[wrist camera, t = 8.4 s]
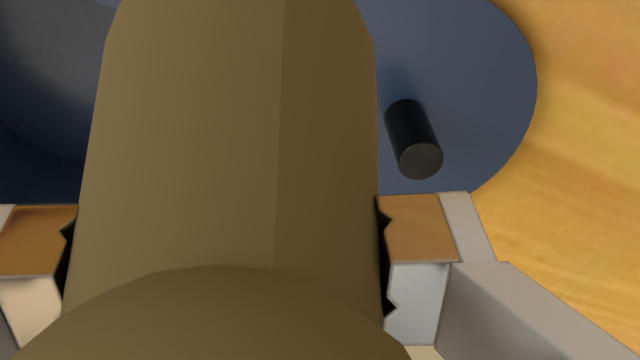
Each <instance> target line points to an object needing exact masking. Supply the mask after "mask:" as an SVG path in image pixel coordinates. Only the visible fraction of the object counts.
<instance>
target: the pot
mask: <svg viewBox="0 0 640 360" xmlns="http://www.w3.org/2000/svg"><path fill="white" fill-rule="evenodd" d="M121 1H122V0H0V204H20V203H79V198H80V191H81V185H82V179H83V173H84V167H85V161H86V155H87V149H88V143H89V137H90V131H91V124H92V118H93V112H94V106H95V100H96V94H97V88H98V82H99V76H100V70H101V64H102V57H103V51H104V45H105V40H106V37H107V35H108V32H109V30H110V27H111V24H112V22H113V19H114V17H115V14H116V11H117V9H118V6H119V4H120V2H121Z"/></svg>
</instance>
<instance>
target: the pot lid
mask: <svg viewBox="0 0 640 360" xmlns="http://www.w3.org/2000/svg"><path fill="white" fill-rule="evenodd" d="M352 1H353V2H354V4H355V5H356V6H357V7H358V9H359V11H360V13H361V16H362V18H363V20H364V23H365V25H366V27H367V30H368V32H369V34H370V36H371V39H372V41H373V43H374V53H375V69H376V91H377V133H378V176H379V195H386V194H415V193H435V192H445V191H464V190H465V191H467V192H468V193H469V194H470V193H471V192H473V191H474V190H476V189H477V188H479V187H480V186H482V185H483V184H484V183H485V182H487V181H488V180H489V179H490V178H492V177H493V176H494V175H495V174H496V173H497V172H498V171H499V170H500V169H501V168H502V167H503V166H504V165H505V163H506V162H507V161H508V160H509V159H510V157H511V156H512V155H513V154H514V152H515V151H516V149H517V148H518V146H519V145H520V143H521V141H522V139H523V137H524V135H525V133H526V131H527V129H528V127H529V124H530V122H531V119H532V116H533V113H534V108H535V103H536V97H537V75H536V67H535V63H534V59H533V55H532V52H531V50H530V48H529V45H528V43H527V41H526V39H525V37H524V36H523V34H522V33H521V31H520V30H519V28H518V27H517V25H516V24H515V23H514V22H513V21H512V20H511V19H510V17H509V16H508V15H507V14H506V13H505V12H504V11H503V10H502V9H500V8H499V7H498V6H497V5H495V4H494V3H493V2H491V1H490V0H352Z"/></svg>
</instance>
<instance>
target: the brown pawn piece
mask: <svg viewBox="0 0 640 360" xmlns="http://www.w3.org/2000/svg"><path fill="white" fill-rule="evenodd" d="M375 195H379V176H378V133H377V91H376V69H375V53H374V43H373V41H372V39H371V36H370V34H369V32H368V30H367V27H366V25H365V23H364V20H363V18H362V16H361V13H360V11H359V9H358V7H357V6H356V5H355V4H354V2H353V1H352V0H122V1H121V2H120V4H119V6H118V9H117V11H116V14H115V17H114V19H113V22H112V24H111V27H110V30H109V32H108V35H107V37H106V40H105V45H104V51H103V57H102V64H101V70H100V76H99V82H98V88H97V94H96V100H95V106H94V112H93V118H92V124H91V131H90V137H89V143H88V149H87V155H86V161H85V167H84V173H83V179H82V185H81V191H80V198H79V211H78V215H77V220H76V224H75V228H74V234H73V240H72V246H71V252H70V258H69V265H68V271H67V277H66V283H65V289H64V295H63V301H62V307H61V313H60V317H58V318H57V319H56V320H55V321H54V322H52V323H51V324H50V325H49V326H48V327H46V328H45V329H44V330H43V331H41V332H40V333H39V334H38V335H37V336H35V337H34V338H33V339H32V340H31V341H29V342H28V343H27V344H26V345H25V346H23V347H22V348H21V349H20V350H19V351H17V352H16V353H15V354H14V355H13V357H12V358H11V359H10V360H412V359H411V358H410V356H409V355H408V353H407V351H406V350H405V348H404V346H403V345H402V343H400V342H399V341H398V340H396V339H395V338H394V337H392V336H391V335H390V334H388V333H387V332H386V331H384V330H383V329H382V303H381V268H380V246H379V230H378V220H377V212H376V204H375Z"/></svg>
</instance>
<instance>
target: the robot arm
mask: <svg viewBox="0 0 640 360" xmlns="http://www.w3.org/2000/svg"><path fill="white" fill-rule="evenodd" d="M375 204H376V212H377V220H378V230H379V246H380V268H381V303H382V329H383V330H384V331H386V332H387V333H388V334H390V335H391V336H392V337H394V338H395V339H396V340H398V341H399V342H400V343H402V345H403V346H435V347H434V348H435V349H436V351H437V352H438V353H439V354H440V355H441V356H442V357H443V358H444V360H640V356H639V355H638V354H637V353H635V352H634V351H632V350H631V349H630V348H628V347H627V346H625V345H624V344H623V343H621V342H620V341H618V340H617V339H616V338H614V337H613V336H611V335H610V334H609V333H607V332H606V331H604V330H603V329H602V328H600V327H599V326H597V325H596V324H595V323H593V322H592V321H590V320H589V319H588V318H586V317H585V316H583V315H582V314H581V313H579V312H578V311H576V310H575V309H574V308H572V307H571V306H569V305H568V304H567V303H565V302H564V301H562V300H561V299H560V298H558V297H557V296H555V295H554V294H553V293H551V292H550V291H548V290H547V289H546V288H544V287H543V286H541V285H540V284H539V283H537V282H536V281H534V280H533V279H532V278H530V277H529V276H527V275H526V274H525V273H523V272H522V271H520V270H519V269H518V268H516V267H515V266H513V265H512V264H511V263H509V262H508V261H498V260H497V257H496V255H495V253H494V250H493V248H492V246H491V243H490V241H489V238H488V236H487V234H486V231H485V229H484V227H483V224H482V222H481V219H480V217H479V215H478V212H477V210H476V207H475V205H474V203H473V200H472V198H471V196H470V194H469V193H468V192H467V191H465V190H464V191H445V192H435V193H415V194H386V195H375ZM78 211H79V203H20V204H0V360H10V359H11V358H12V357H13V355H14V354H15V353H16V352H17V351H19V350H20V349H21V348H22V347H23V346H25V345H26V344H27V343H28V342H29V341H31V340H32V339H33V338H34V337H35V336H37V335H38V334H39V333H40V332H41V331H43V330H44V329H45V328H46V327H48V326H49V325H50V324H51V323H52V322H54V321H55V320H56V319H57V318H58V317H60V313H61V307H62V301H63V295H64V289H65V283H66V277H67V271H68V265H69V258H70V252H71V246H72V240H73V234H74V228H75V224H76V220H77V215H78Z"/></svg>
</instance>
